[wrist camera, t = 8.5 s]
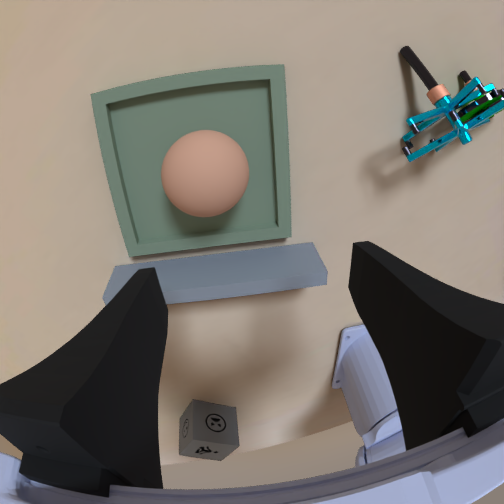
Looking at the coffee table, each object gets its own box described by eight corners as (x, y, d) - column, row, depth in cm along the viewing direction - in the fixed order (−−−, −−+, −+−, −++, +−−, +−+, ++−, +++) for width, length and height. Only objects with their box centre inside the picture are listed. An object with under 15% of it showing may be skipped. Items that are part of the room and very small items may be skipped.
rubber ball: (236, 191, 19) (266, 219, 16) (164, 208, 18) (177, 242, 14) (229, 119, 17) (259, 129, 13) (150, 134, 16) (158, 147, 12)
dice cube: (192, 398, 31) (192, 439, 26) (235, 407, 32) (239, 445, 28) (179, 418, 33) (178, 454, 28) (219, 425, 34) (221, 460, 30)
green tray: (288, 229, 21) (291, 237, 20) (132, 249, 20) (129, 256, 20) (280, 64, 15) (284, 64, 15) (97, 93, 15) (90, 94, 14)
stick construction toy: (393, 184, 18) (479, 130, 10) (335, 91, 18) (388, 9, 10) (482, 138, 20) (545, 100, 12) (438, 69, 20) (489, 19, 12)
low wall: (312, 254, 22) (326, 284, 19) (119, 277, 22) (107, 309, 19) (312, 242, 22) (327, 271, 19) (115, 266, 21) (102, 297, 18)
